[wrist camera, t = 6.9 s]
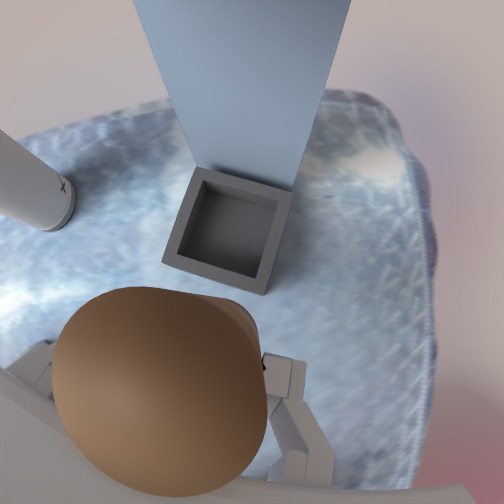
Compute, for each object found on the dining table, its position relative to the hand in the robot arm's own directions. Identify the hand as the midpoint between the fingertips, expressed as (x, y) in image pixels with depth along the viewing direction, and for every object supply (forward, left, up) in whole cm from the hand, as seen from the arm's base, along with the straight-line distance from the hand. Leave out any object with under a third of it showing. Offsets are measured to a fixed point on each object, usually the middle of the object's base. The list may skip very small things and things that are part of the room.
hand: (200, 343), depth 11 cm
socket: (+7, +2, -16) cm, 18 cm away
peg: (-1, 0, -6) cm, 6 cm away
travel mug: (+5, +22, -16) cm, 28 cm away
